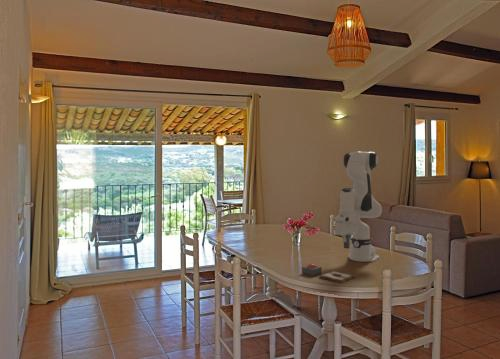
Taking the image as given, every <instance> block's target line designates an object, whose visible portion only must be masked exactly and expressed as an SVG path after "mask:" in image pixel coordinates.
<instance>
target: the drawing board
mask: <svg viewBox="0 0 500 359" xmlns="http://www.w3.org/2000/svg"><path fill="white" fill-rule="evenodd" d="M318 276H319V279H323V280H327V281H331V282H336V283H339V284H342V283H345V282H347V281H350V280H352V279H355V275H353V274H349V273H343V272H340V271H337V270H336V271H335V270H332V271H328V272H327V273H323V274H319V275H318Z"/></svg>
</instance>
